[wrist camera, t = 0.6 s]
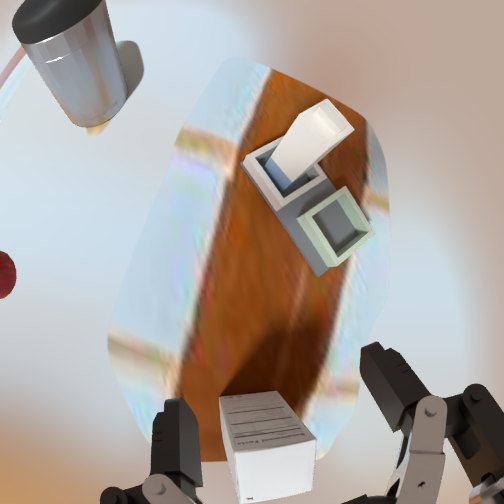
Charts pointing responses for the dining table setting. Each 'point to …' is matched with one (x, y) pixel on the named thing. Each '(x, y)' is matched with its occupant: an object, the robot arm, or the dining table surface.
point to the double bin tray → (312, 212)
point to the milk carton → (306, 143)
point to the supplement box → (266, 447)
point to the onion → (6, 275)
